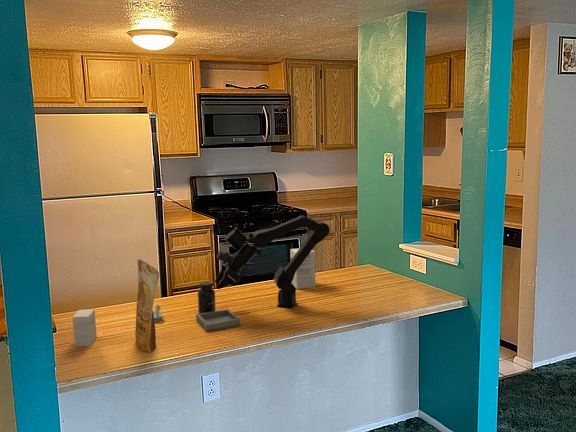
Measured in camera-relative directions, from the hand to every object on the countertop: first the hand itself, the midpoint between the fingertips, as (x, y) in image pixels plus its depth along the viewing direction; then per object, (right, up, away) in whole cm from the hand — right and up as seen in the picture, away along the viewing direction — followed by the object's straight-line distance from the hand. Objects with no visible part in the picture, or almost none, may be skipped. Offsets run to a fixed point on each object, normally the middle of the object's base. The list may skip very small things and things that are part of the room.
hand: (216, 285), depth 217 cm
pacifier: (-23, -13, -6) cm, 27 cm away
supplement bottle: (-4, -11, +1) cm, 12 cm away
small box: (-42, -16, -27) cm, 52 cm away
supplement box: (+35, -5, +35) cm, 50 cm away
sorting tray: (+2, -13, -11) cm, 17 cm away
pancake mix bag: (-20, -16, -30) cm, 39 cm away
